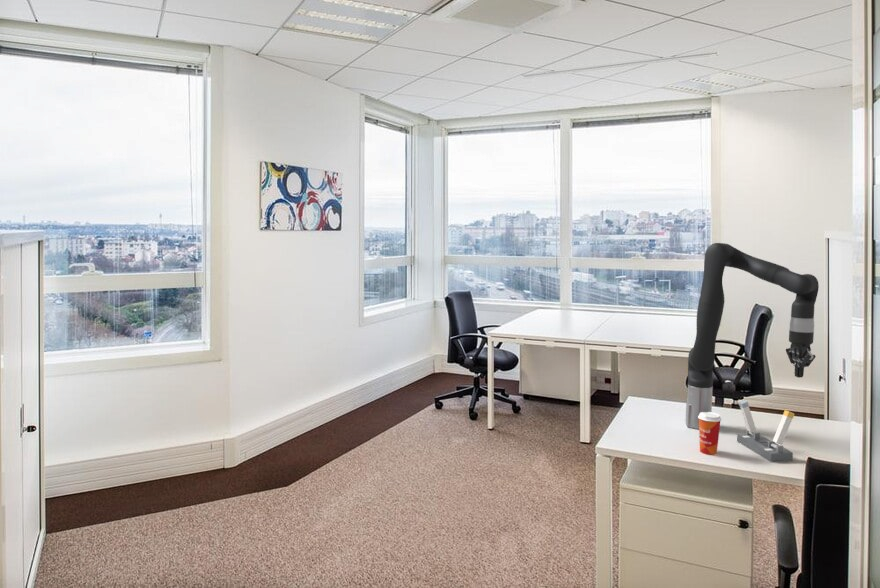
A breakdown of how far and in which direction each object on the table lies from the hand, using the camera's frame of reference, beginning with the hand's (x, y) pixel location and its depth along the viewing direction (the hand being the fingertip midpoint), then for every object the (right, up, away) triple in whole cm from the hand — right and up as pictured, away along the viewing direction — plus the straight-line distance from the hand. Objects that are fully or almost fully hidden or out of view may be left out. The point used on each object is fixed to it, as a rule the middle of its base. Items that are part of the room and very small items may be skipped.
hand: (798, 376), depth 212 cm
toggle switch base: (-12, -27, +1) cm, 30 cm away
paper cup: (-33, -28, +1) cm, 43 cm away
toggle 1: (-13, -22, +7) cm, 27 cm away
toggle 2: (-12, -24, -6) cm, 27 cm away
